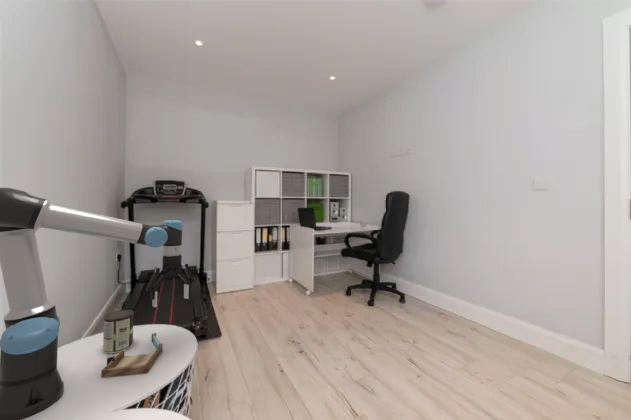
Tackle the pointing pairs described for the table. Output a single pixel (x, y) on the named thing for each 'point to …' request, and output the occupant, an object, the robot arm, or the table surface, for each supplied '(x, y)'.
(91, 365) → the table surface
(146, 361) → the shallow wooden tray
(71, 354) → the table surface
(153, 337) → the gate
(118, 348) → the coffee can
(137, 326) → the table surface
